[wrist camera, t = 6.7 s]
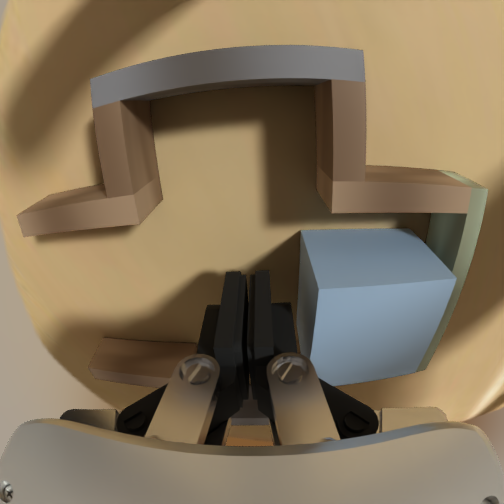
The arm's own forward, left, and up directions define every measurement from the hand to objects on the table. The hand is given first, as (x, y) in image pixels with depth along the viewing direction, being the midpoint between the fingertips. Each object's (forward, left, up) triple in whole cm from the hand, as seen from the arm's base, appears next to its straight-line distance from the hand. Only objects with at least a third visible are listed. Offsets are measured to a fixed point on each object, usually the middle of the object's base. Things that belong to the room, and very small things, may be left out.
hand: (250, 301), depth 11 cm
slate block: (-5, 0, -1) cm, 5 cm away
